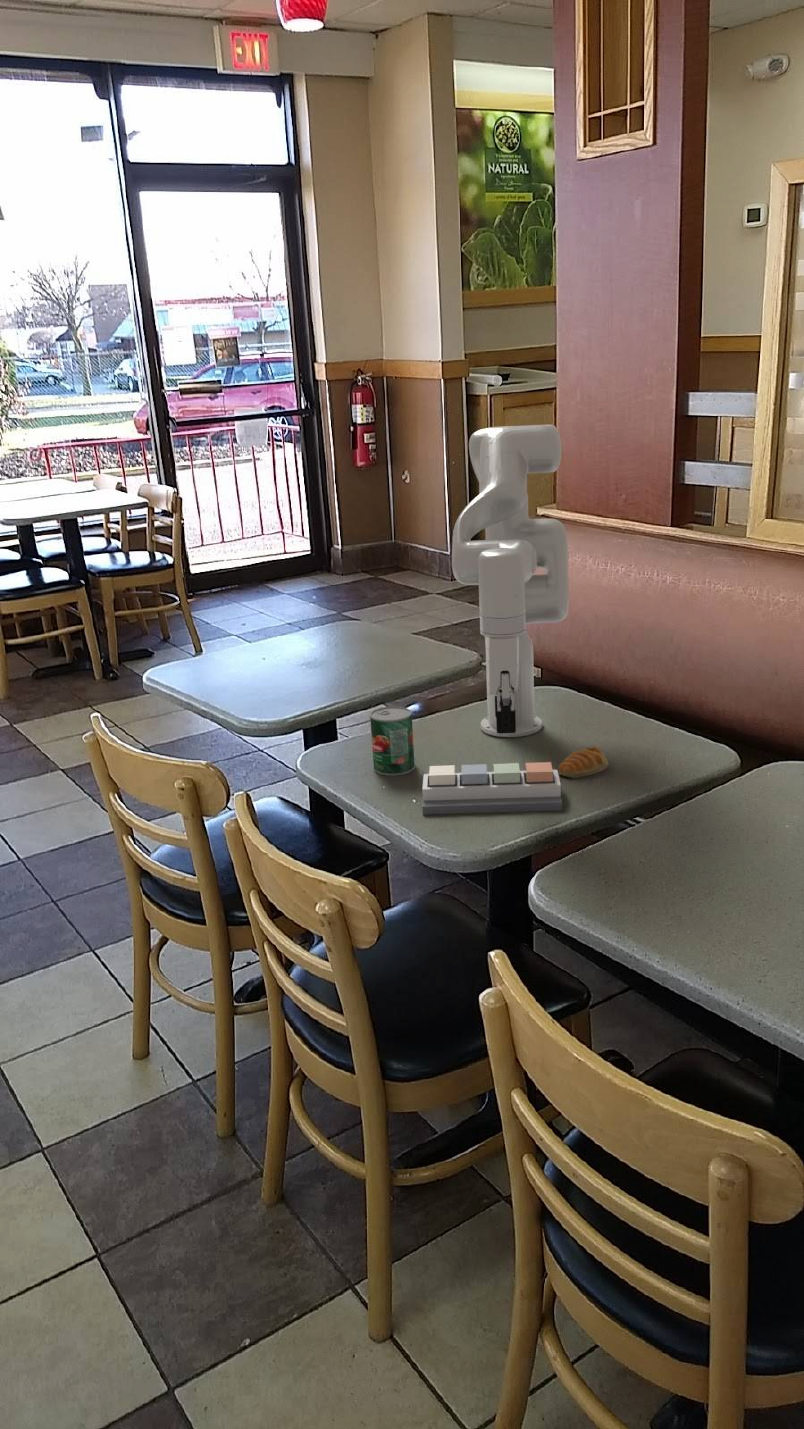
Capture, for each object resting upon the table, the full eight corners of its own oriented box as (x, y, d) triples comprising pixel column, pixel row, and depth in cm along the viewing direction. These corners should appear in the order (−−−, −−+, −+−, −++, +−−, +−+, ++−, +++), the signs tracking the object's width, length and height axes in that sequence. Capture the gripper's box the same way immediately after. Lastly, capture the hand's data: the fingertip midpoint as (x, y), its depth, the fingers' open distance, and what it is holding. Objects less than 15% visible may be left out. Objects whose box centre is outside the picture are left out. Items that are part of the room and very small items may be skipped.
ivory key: (430, 775, 194) (429, 766, 194) (455, 774, 194) (454, 765, 194) (429, 785, 190) (428, 775, 190) (454, 784, 190) (454, 774, 189)
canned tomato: (423, 765, 210) (420, 710, 206) (396, 778, 204) (393, 722, 200) (391, 757, 214) (388, 703, 211) (364, 770, 209) (360, 715, 205)
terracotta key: (525, 772, 193) (525, 762, 193) (551, 771, 193) (550, 762, 192) (527, 782, 189) (526, 772, 189) (552, 781, 189) (552, 771, 188)
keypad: (425, 787, 199) (424, 768, 198) (556, 783, 198) (556, 764, 197) (422, 814, 188) (421, 795, 187) (562, 810, 186) (561, 790, 185)
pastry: (576, 783, 198) (576, 764, 196) (549, 774, 203) (548, 755, 201) (611, 769, 203) (611, 750, 202) (583, 760, 208) (583, 741, 207)
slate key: (461, 774, 194) (461, 765, 194) (486, 773, 194) (486, 764, 193) (461, 784, 190) (461, 774, 189) (487, 783, 190) (487, 773, 189)
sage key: (493, 773, 194) (493, 763, 193) (518, 772, 193) (518, 763, 193) (494, 783, 190) (494, 773, 189) (520, 782, 189) (519, 772, 189)
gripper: (479, 612, 191) (482, 709, 197) (480, 638, 175) (484, 743, 180) (522, 610, 190) (524, 707, 196) (528, 636, 174) (530, 742, 180)
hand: (505, 724), depth 188 cm, fingers open, 6 cm apart
